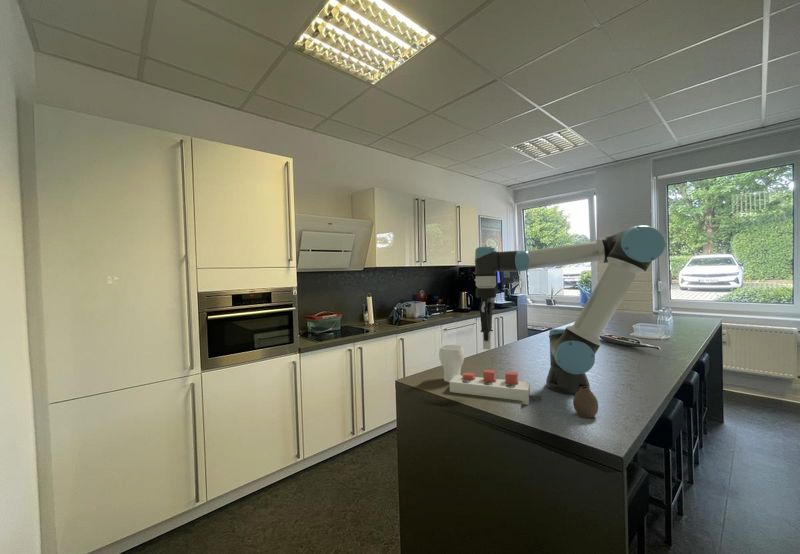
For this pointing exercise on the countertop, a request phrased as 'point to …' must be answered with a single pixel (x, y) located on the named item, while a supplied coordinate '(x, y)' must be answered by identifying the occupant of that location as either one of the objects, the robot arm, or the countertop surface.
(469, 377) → the button
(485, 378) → the button
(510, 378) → the button
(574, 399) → the vase
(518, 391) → the strip
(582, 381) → the robot arm
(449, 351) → the cup
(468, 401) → the countertop surface
